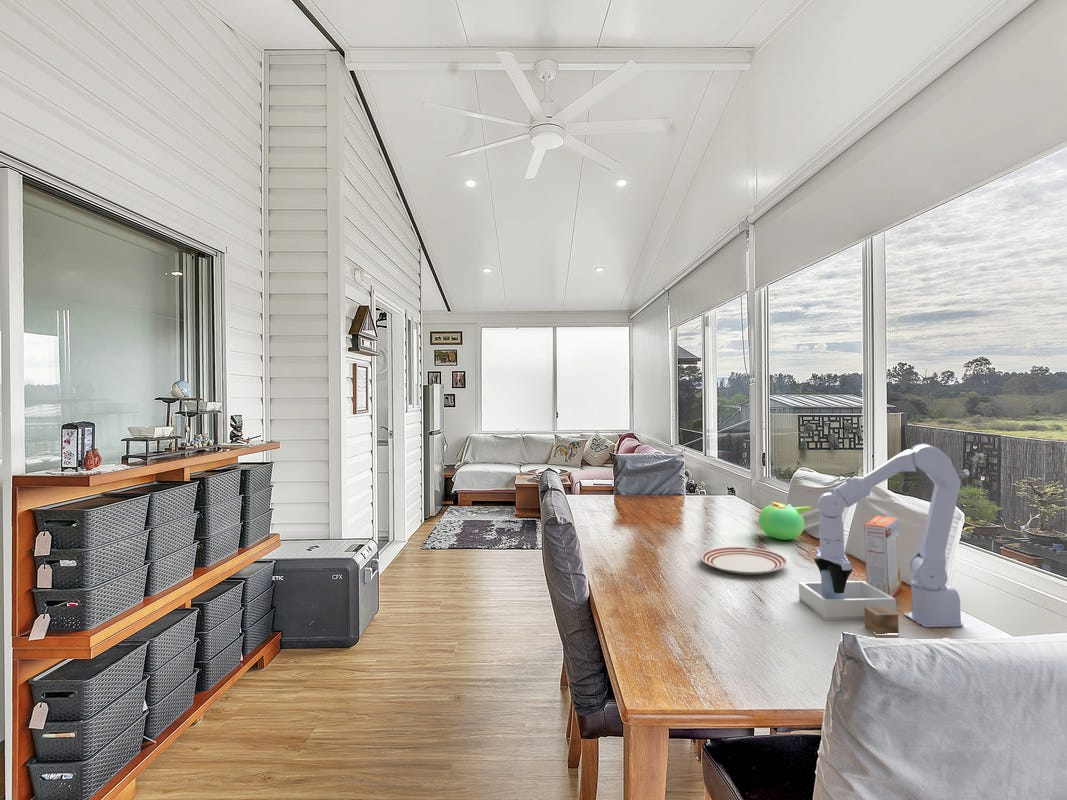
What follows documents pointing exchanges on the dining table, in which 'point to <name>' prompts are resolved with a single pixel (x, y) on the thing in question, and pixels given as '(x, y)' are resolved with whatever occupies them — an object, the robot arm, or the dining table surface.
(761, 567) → the dinner plate
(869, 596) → the tote
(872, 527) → the cracker box
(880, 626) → the walnut cube
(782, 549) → the dining table surface
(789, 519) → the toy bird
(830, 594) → the blue cylinder
